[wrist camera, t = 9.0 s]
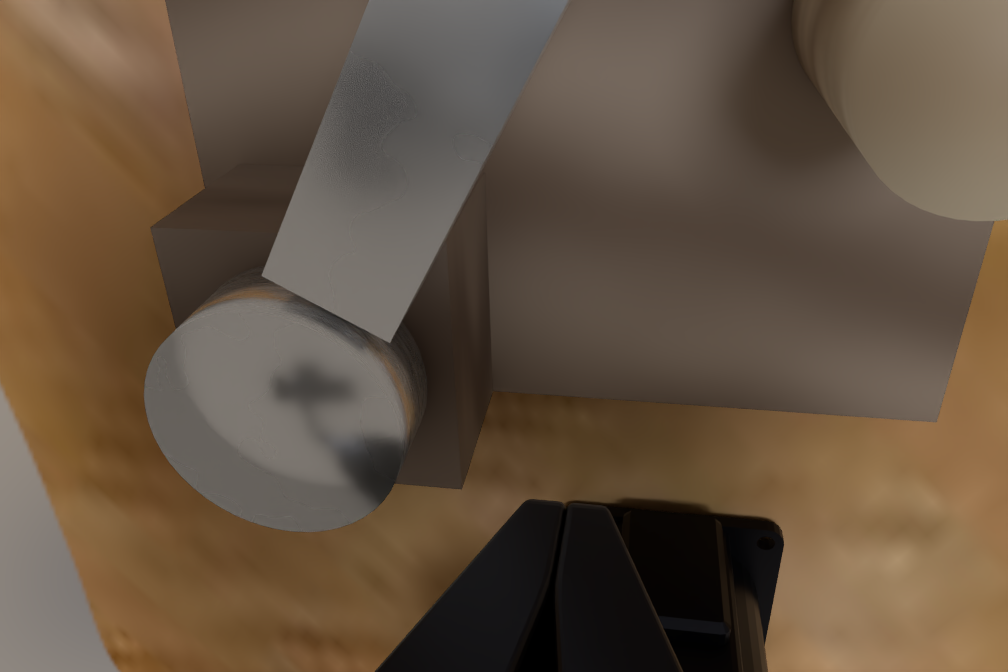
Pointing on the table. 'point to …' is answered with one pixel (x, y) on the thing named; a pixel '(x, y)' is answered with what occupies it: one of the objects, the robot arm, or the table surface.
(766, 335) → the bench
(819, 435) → the table surface
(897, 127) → the beige ridged cylinder
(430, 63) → the lever
